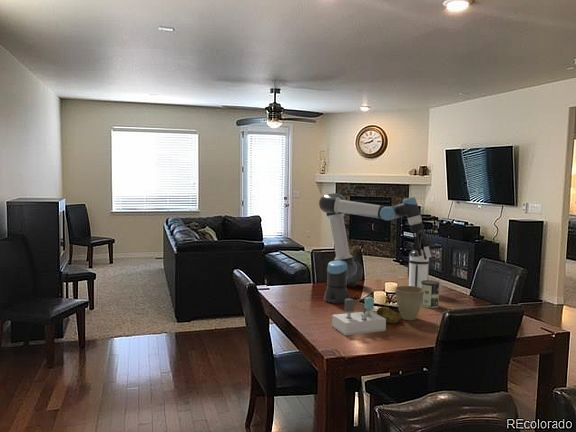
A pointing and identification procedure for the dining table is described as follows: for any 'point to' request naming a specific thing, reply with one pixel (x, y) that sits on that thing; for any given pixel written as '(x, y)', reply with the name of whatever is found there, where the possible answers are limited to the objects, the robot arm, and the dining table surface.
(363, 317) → the trim pot
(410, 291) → the plant pot
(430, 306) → the coffee can
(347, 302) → the knob charcoal
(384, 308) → the potato
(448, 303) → the dining table surface
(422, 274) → the coffee press
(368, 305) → the knob teal
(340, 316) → the panel
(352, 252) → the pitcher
